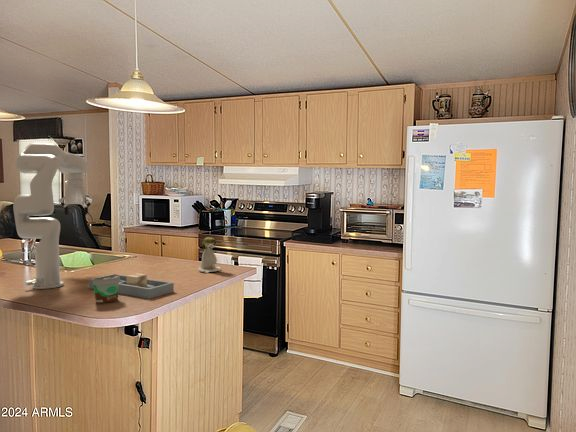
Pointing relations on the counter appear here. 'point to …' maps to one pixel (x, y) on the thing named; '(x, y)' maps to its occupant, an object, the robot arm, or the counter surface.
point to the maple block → (137, 280)
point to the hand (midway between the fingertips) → (76, 214)
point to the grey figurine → (209, 256)
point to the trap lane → (149, 291)
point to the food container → (106, 289)
